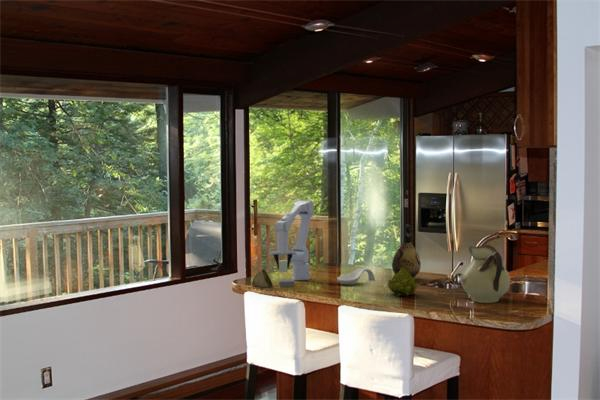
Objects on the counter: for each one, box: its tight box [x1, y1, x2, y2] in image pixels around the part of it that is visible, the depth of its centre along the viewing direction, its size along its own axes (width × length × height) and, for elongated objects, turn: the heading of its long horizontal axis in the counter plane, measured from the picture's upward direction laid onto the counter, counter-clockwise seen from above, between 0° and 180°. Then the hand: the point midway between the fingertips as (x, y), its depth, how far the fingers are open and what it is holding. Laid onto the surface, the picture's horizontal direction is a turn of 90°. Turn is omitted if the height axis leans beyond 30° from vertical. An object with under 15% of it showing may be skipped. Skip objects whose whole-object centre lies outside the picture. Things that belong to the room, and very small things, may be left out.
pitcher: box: [460, 244, 511, 304], centre depth 337 cm, size 22×24×25 cm
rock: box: [251, 268, 274, 288], centre depth 384 cm, size 11×9×10 cm
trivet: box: [278, 278, 295, 288], centre depth 386 cm, size 8×8×3 cm
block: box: [278, 259, 288, 274], centre depth 388 cm, size 4×4×6 cm
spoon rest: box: [336, 267, 376, 286], centre depth 390 cm, size 24×12×7 cm, turn 130°
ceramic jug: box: [391, 224, 421, 278], centre depth 396 cm, size 17×15×30 cm
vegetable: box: [387, 267, 418, 297], centre depth 354 cm, size 15×16×15 cm
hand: (283, 268), depth 388 cm, fingers closed on block, 4 cm apart
